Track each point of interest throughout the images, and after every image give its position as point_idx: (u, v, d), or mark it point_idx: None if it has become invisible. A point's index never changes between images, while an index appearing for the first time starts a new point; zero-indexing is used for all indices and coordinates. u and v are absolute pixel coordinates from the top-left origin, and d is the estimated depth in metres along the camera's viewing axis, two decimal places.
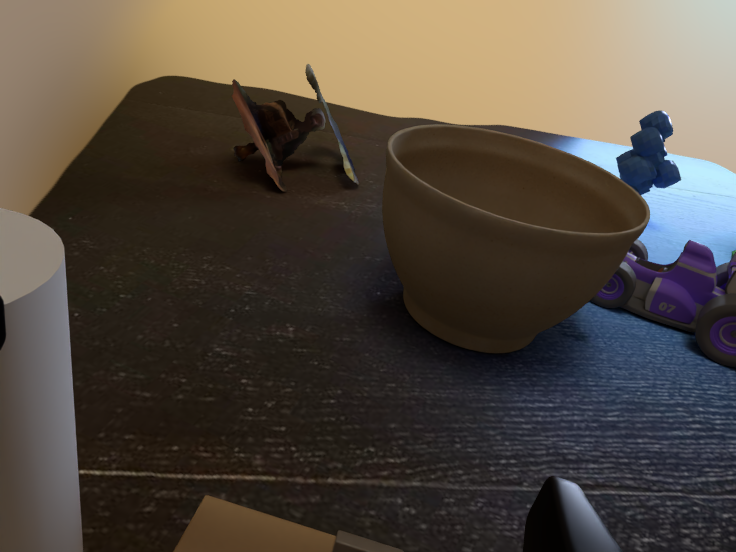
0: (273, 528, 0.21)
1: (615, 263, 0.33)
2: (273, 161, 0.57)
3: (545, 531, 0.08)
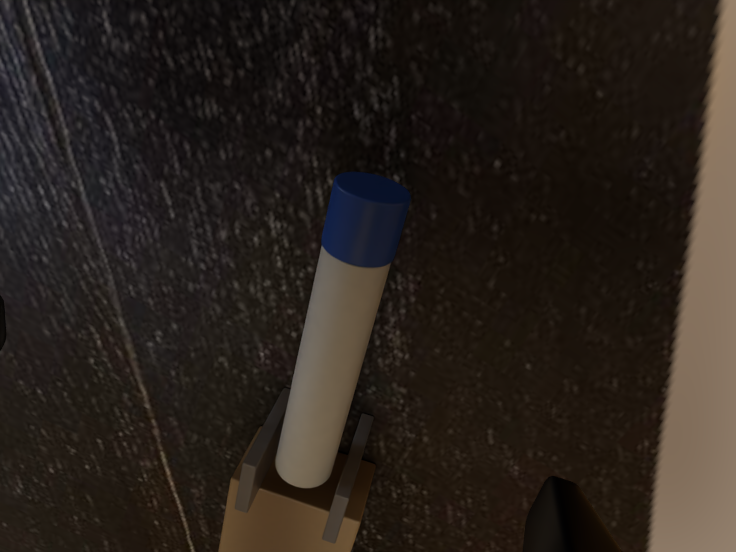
0: (235, 522, 0.23)
1: None
2: None
3: (545, 531, 0.08)
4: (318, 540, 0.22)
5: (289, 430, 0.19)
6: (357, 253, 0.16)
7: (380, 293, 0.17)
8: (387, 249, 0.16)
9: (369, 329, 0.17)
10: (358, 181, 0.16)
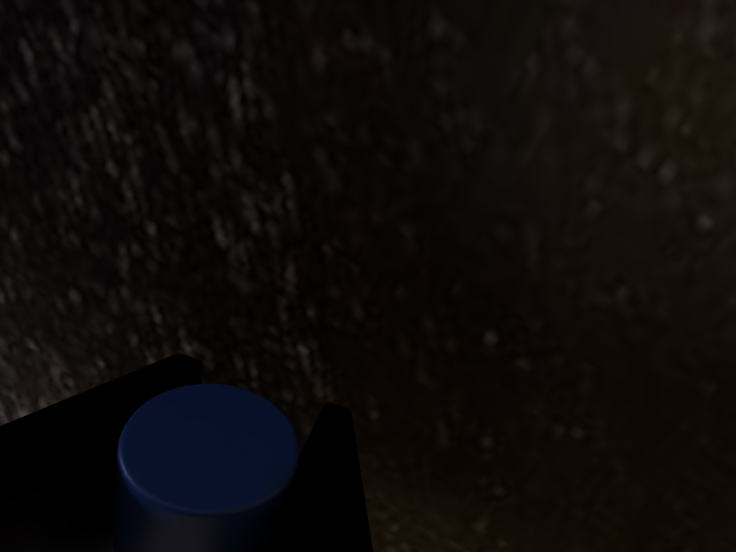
0: None
1: None
2: None
3: None
4: None
5: None
6: None
7: None
8: None
9: None
10: (181, 425, 0.07)
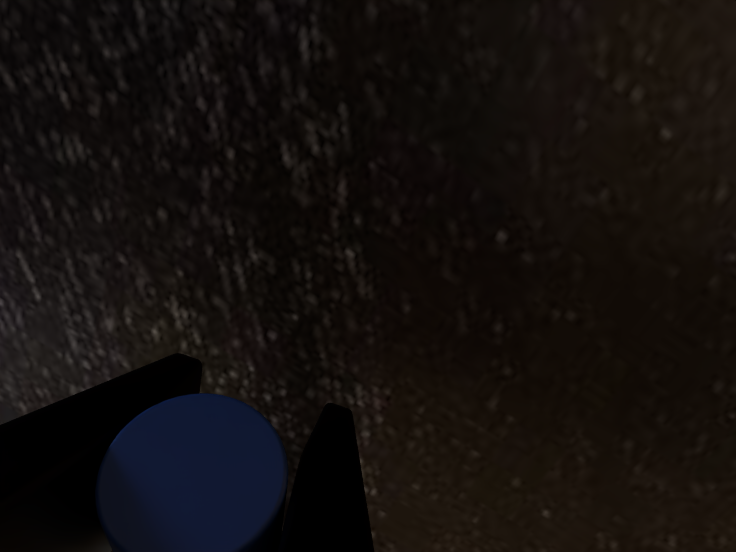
0: None
1: None
2: None
3: None
4: None
5: None
6: None
7: None
8: None
9: None
10: (162, 455, 0.07)
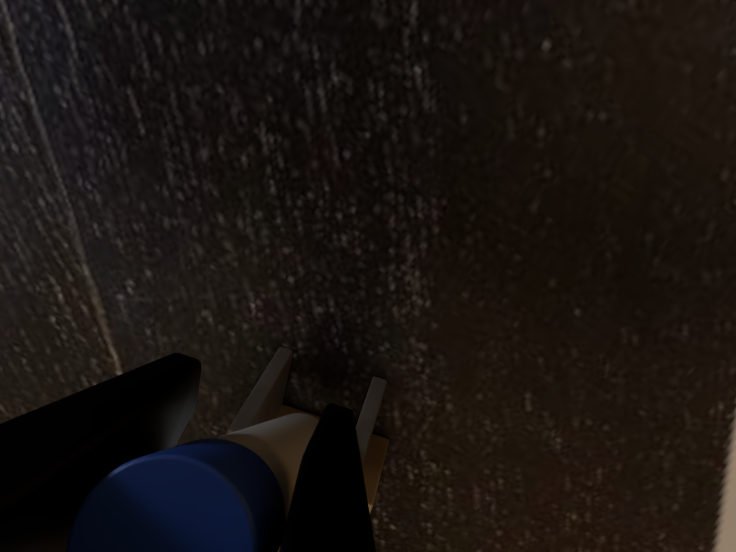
0: None
1: None
2: None
3: None
4: None
5: None
6: None
7: None
8: None
9: None
10: (125, 536, 0.06)
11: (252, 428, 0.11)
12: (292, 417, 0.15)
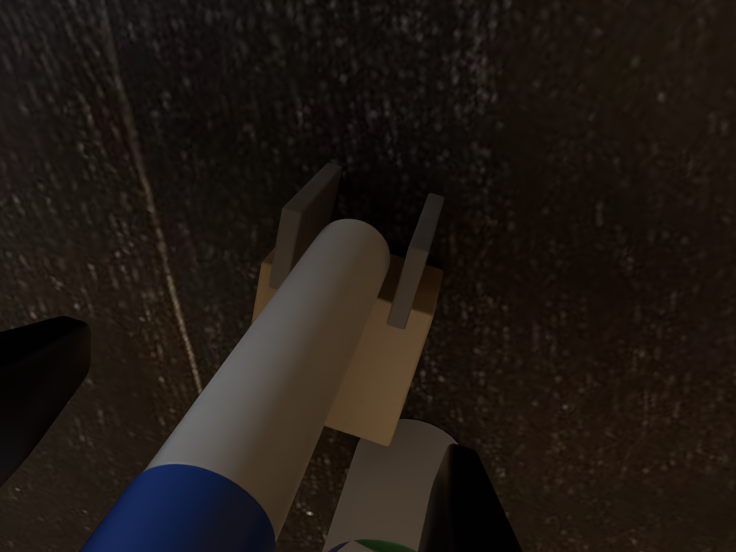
0: None
1: None
2: None
3: (438, 495, 0.08)
4: (375, 348, 0.17)
5: None
6: None
7: (291, 501, 0.09)
8: None
9: None
10: None
11: (261, 349, 0.10)
12: (332, 252, 0.13)
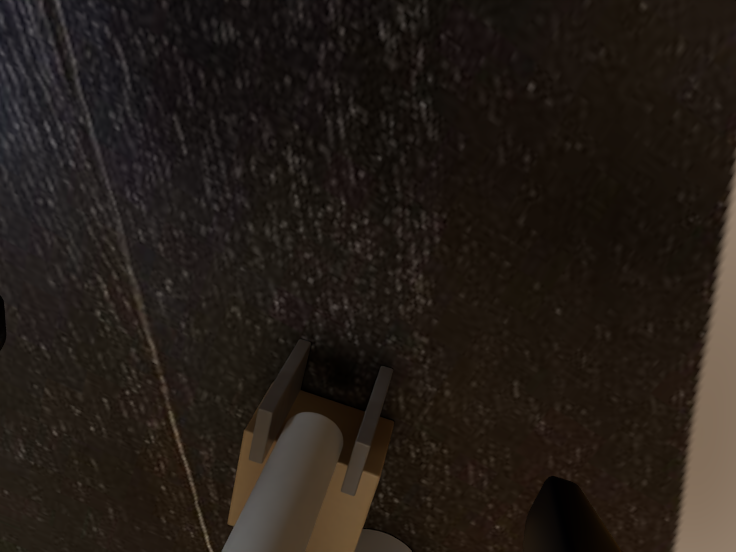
0: (248, 479, 0.22)
1: None
2: None
3: (545, 531, 0.08)
4: (335, 496, 0.21)
5: None
6: None
7: None
8: None
9: None
10: None
11: None
12: (294, 458, 0.17)
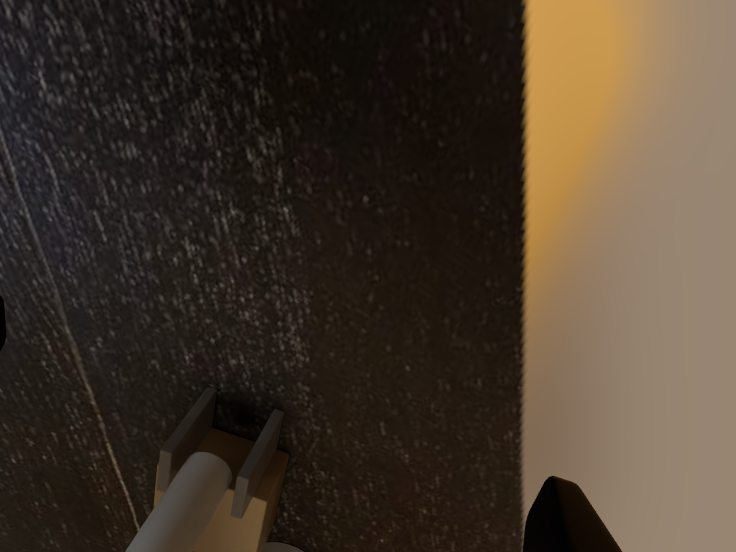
0: None
1: None
2: None
3: (545, 531, 0.08)
4: (233, 518, 0.26)
5: None
6: None
7: None
8: None
9: None
10: None
11: None
12: (182, 492, 0.22)
